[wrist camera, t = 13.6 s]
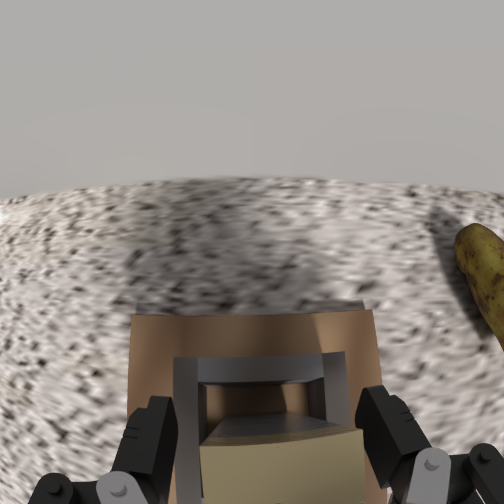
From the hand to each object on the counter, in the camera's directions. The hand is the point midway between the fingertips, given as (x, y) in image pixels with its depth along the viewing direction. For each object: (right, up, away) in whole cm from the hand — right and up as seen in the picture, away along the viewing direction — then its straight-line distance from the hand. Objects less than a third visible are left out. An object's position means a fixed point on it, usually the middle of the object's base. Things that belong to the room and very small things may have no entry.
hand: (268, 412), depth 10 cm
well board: (0, -5, +6) cm, 8 cm away
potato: (+20, +1, +11) cm, 22 cm away
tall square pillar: (0, -5, +5) cm, 7 cm away
